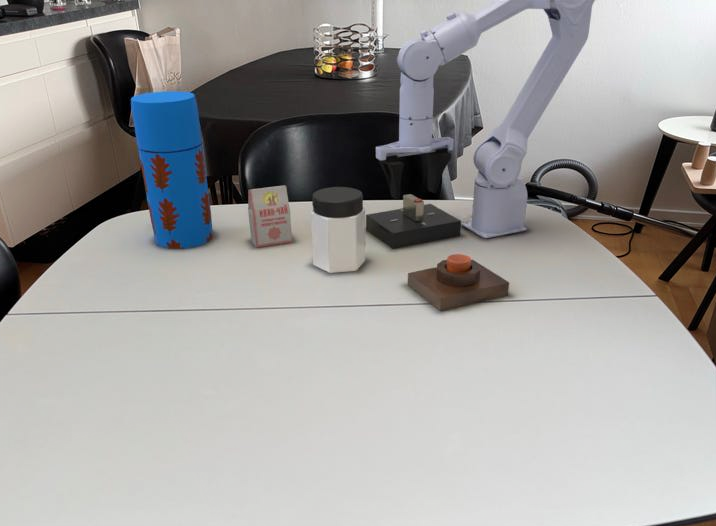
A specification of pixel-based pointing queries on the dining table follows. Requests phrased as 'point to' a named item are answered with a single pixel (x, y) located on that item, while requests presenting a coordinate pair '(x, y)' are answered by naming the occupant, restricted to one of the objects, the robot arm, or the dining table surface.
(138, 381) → the dining table surface
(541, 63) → the robot arm
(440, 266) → the button block
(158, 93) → the thermos
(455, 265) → the button
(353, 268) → the jar
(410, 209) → the knob
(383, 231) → the panel
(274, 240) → the tea bag
